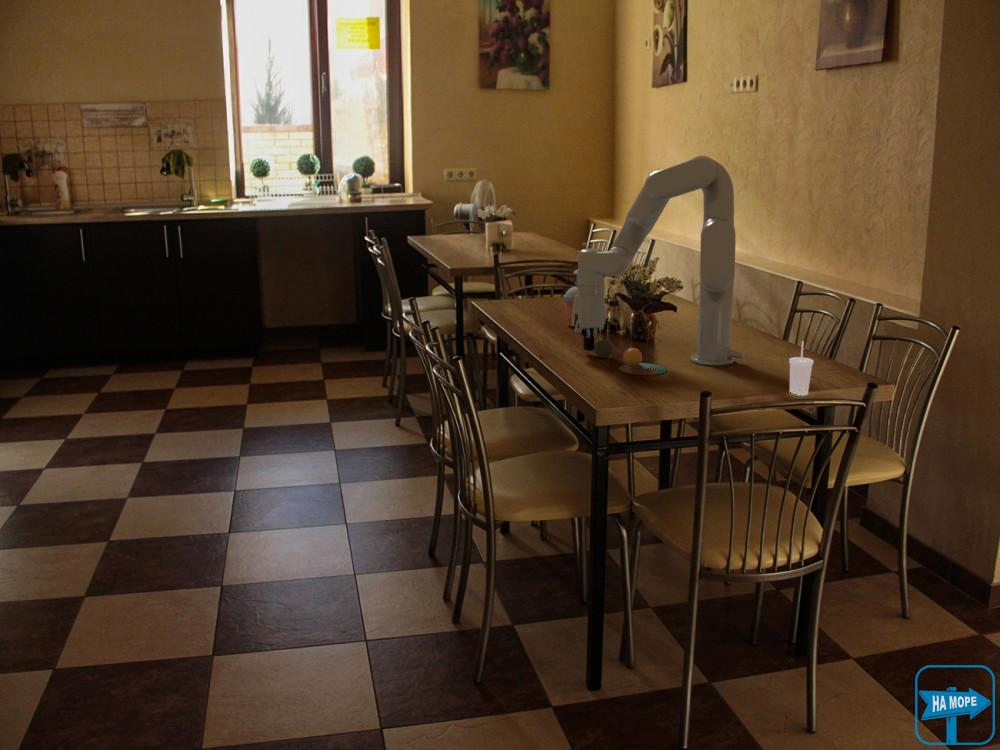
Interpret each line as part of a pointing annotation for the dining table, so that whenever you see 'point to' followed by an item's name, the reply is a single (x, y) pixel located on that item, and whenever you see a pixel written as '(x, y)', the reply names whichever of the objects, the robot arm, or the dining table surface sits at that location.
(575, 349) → the dining table surface
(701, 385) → the dining table surface
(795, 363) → the beverage cup
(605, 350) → the dark grey ball
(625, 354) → the object ball
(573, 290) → the cup with straw
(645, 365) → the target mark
